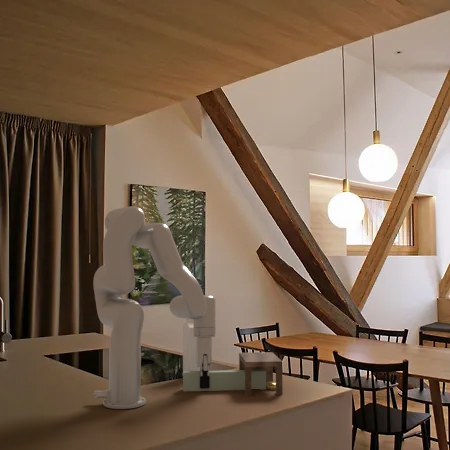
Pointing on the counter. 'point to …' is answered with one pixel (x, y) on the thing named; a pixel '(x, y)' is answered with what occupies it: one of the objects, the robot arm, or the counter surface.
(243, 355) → the brown wooden stool
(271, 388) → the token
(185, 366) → the milk
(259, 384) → the slat
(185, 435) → the counter surface
